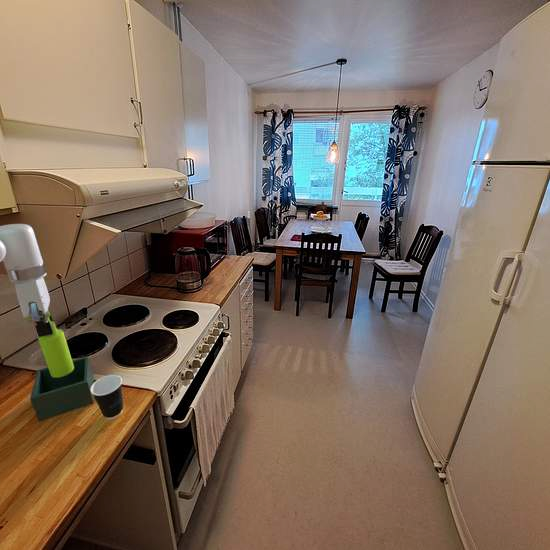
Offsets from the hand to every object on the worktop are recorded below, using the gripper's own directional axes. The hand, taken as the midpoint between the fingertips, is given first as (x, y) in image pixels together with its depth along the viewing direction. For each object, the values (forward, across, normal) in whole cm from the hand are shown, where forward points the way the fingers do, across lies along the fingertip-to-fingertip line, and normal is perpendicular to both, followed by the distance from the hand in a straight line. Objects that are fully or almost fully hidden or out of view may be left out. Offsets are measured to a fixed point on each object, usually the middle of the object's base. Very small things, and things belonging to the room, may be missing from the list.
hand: (47, 330), depth 82 cm
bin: (+25, 0, 0) cm, 25 cm away
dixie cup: (+25, +14, +12) cm, 31 cm away
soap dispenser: (+15, 0, 0) cm, 15 cm away
